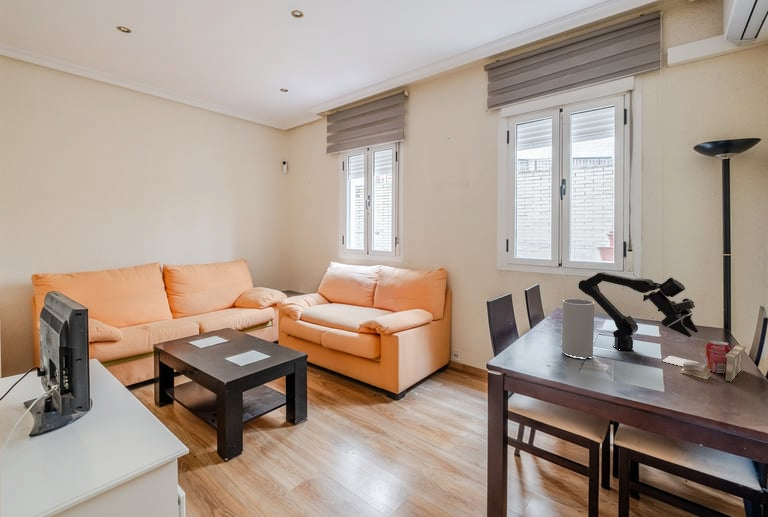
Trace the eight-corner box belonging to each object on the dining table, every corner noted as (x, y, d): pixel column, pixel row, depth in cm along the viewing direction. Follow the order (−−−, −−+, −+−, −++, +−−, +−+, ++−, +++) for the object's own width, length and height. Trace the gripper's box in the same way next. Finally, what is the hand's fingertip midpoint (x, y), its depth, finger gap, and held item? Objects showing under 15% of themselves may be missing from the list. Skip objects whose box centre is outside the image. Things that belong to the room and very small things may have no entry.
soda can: (716, 367, 144) (718, 339, 143) (734, 374, 137) (736, 344, 136) (699, 368, 144) (701, 339, 142) (716, 375, 136) (718, 345, 135)
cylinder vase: (584, 350, 167) (586, 298, 165) (598, 360, 154) (599, 304, 152) (557, 350, 168) (558, 298, 166) (568, 360, 156) (569, 304, 153)
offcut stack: (680, 373, 140) (681, 362, 139) (684, 370, 142) (685, 359, 142) (707, 380, 133) (707, 369, 133) (710, 377, 136) (711, 365, 136)
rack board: (732, 383, 130) (734, 356, 129) (723, 380, 132) (725, 355, 131) (743, 370, 140) (745, 346, 139) (735, 368, 142) (737, 344, 141)
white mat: (661, 361, 151) (661, 360, 151) (669, 356, 157) (669, 355, 157) (691, 369, 143) (691, 368, 143) (698, 363, 149) (698, 362, 148)
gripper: (672, 295, 143) (706, 328, 135) (687, 289, 153) (719, 319, 145) (648, 310, 150) (679, 342, 142) (664, 304, 160) (693, 333, 153)
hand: (694, 334), depth 145 cm, fingers open, 9 cm apart
